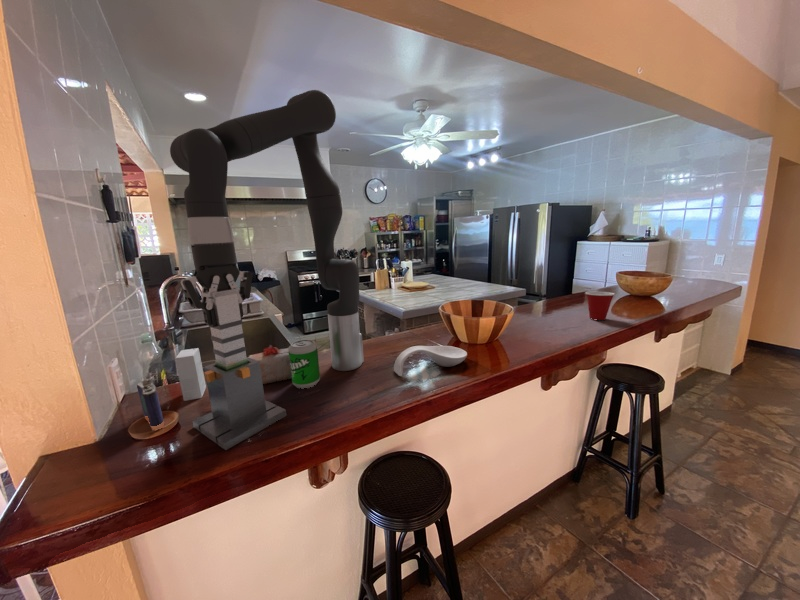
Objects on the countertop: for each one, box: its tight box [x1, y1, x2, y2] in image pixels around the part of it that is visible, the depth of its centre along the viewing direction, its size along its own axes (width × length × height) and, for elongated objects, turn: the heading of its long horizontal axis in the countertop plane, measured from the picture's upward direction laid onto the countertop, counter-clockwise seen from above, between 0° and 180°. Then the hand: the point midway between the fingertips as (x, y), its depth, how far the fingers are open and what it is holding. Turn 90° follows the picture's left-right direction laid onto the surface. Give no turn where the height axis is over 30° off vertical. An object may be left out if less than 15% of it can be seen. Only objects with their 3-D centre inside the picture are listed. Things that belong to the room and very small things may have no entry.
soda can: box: [287, 339, 321, 390], centre depth 88 cm, size 8×8×12 cm
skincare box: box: [174, 347, 207, 402], centre depth 84 cm, size 6×4×12 cm
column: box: [204, 287, 248, 372], centre depth 68 cm, size 5×5×24 cm
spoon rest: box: [393, 345, 468, 377], centre depth 97 cm, size 24×12×7 cm, turn 116°
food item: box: [248, 344, 292, 385], centre depth 92 cm, size 14×8×10 cm, turn 114°
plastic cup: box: [585, 291, 616, 321], centre depth 139 cm, size 11×11×12 cm
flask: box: [136, 377, 164, 427], centre depth 72 cm, size 9×3×11 cm, turn 48°
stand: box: [192, 356, 287, 451], centre depth 71 cm, size 14×14×14 cm
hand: (225, 322), depth 67 cm, fingers closed on column, 4 cm apart
